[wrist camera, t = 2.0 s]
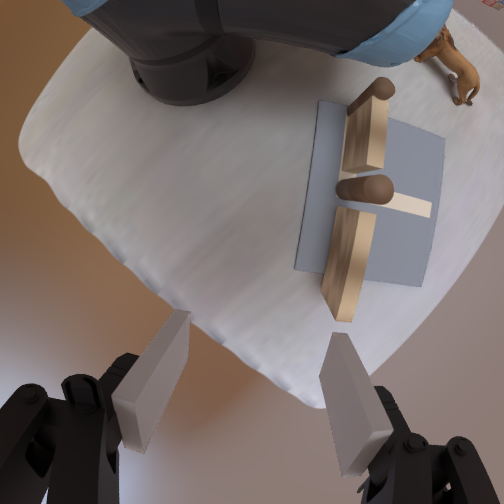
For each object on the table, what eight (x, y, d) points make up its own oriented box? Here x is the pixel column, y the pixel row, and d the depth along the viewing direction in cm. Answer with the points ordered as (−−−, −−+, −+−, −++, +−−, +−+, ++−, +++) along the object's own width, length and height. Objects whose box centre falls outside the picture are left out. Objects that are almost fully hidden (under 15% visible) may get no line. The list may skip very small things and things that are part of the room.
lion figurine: (387, 46, 26) (414, 15, 17) (400, 27, 24) (426, -3, 16) (465, 116, 27) (504, 105, 18) (474, 94, 26) (510, 80, 17)
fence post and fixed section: (344, 104, 28) (376, 69, 17) (362, 109, 28) (401, 77, 17) (332, 198, 31) (364, 201, 20) (352, 201, 30) (391, 207, 20)
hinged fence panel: (337, 205, 30) (359, 211, 22) (350, 208, 30) (376, 214, 22) (320, 291, 32) (335, 320, 24) (333, 292, 32) (351, 322, 24)
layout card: (318, 101, 28) (319, 99, 28) (442, 139, 28) (445, 138, 27) (294, 268, 33) (294, 270, 32) (419, 285, 32) (421, 287, 31)
